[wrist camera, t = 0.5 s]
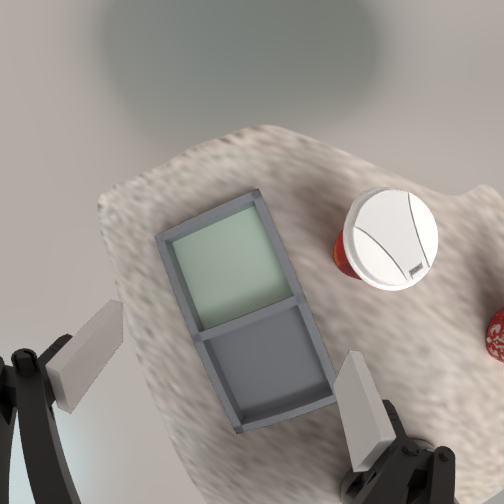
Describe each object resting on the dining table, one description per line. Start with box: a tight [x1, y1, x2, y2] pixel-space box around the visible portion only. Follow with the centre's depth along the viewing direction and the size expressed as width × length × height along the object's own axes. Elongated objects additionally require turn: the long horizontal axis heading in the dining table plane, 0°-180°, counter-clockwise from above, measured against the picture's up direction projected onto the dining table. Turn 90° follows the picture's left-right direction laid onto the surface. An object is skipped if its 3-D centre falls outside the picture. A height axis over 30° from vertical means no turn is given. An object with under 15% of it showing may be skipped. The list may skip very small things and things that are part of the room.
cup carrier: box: [155, 188, 337, 434], centre depth 32 cm, size 25×13×3 cm, turn 22°
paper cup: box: [334, 187, 438, 291], centre depth 25 cm, size 8×8×14 cm
